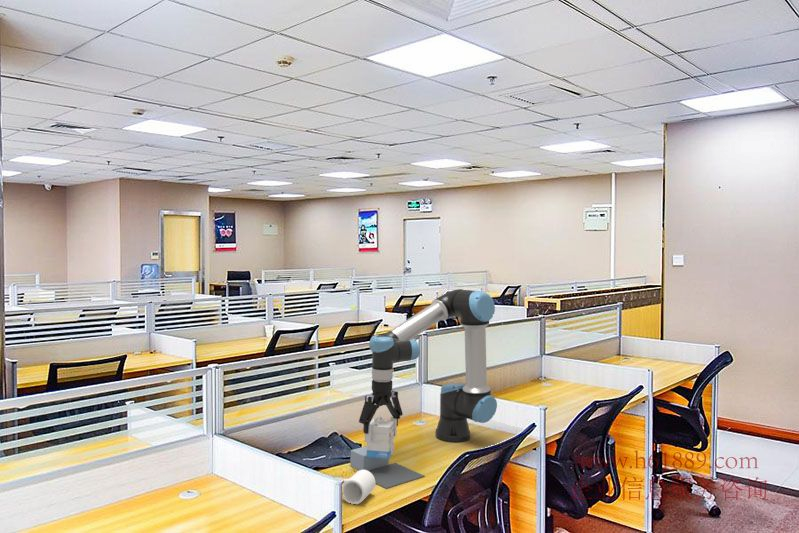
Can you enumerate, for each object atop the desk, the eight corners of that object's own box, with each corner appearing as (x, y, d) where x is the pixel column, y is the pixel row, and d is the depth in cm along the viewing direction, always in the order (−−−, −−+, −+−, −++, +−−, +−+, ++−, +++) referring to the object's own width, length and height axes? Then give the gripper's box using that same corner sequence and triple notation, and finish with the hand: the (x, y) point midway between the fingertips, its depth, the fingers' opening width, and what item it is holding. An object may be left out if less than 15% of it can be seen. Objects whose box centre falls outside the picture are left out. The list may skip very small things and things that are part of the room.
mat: (395, 463, 236) (395, 462, 236) (424, 476, 224) (424, 475, 224) (357, 474, 224) (357, 473, 224) (386, 489, 212) (386, 487, 212)
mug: (375, 494, 207) (376, 471, 207) (364, 506, 198) (364, 482, 197) (342, 489, 211) (342, 466, 211) (329, 500, 202) (330, 476, 201)
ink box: (388, 459, 223) (389, 422, 223) (366, 457, 225) (367, 420, 224) (393, 451, 232) (394, 416, 231) (372, 449, 233) (373, 414, 233)
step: (375, 459, 240) (375, 443, 240) (388, 465, 234) (389, 449, 234) (350, 466, 232) (350, 450, 232) (363, 472, 226) (363, 456, 226)
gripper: (399, 373, 238) (398, 430, 239) (349, 382, 222) (348, 442, 223) (413, 377, 232) (411, 435, 233) (362, 386, 216) (361, 448, 217)
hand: (380, 438), depth 228 cm, fingers closed on ink box, 11 cm apart
